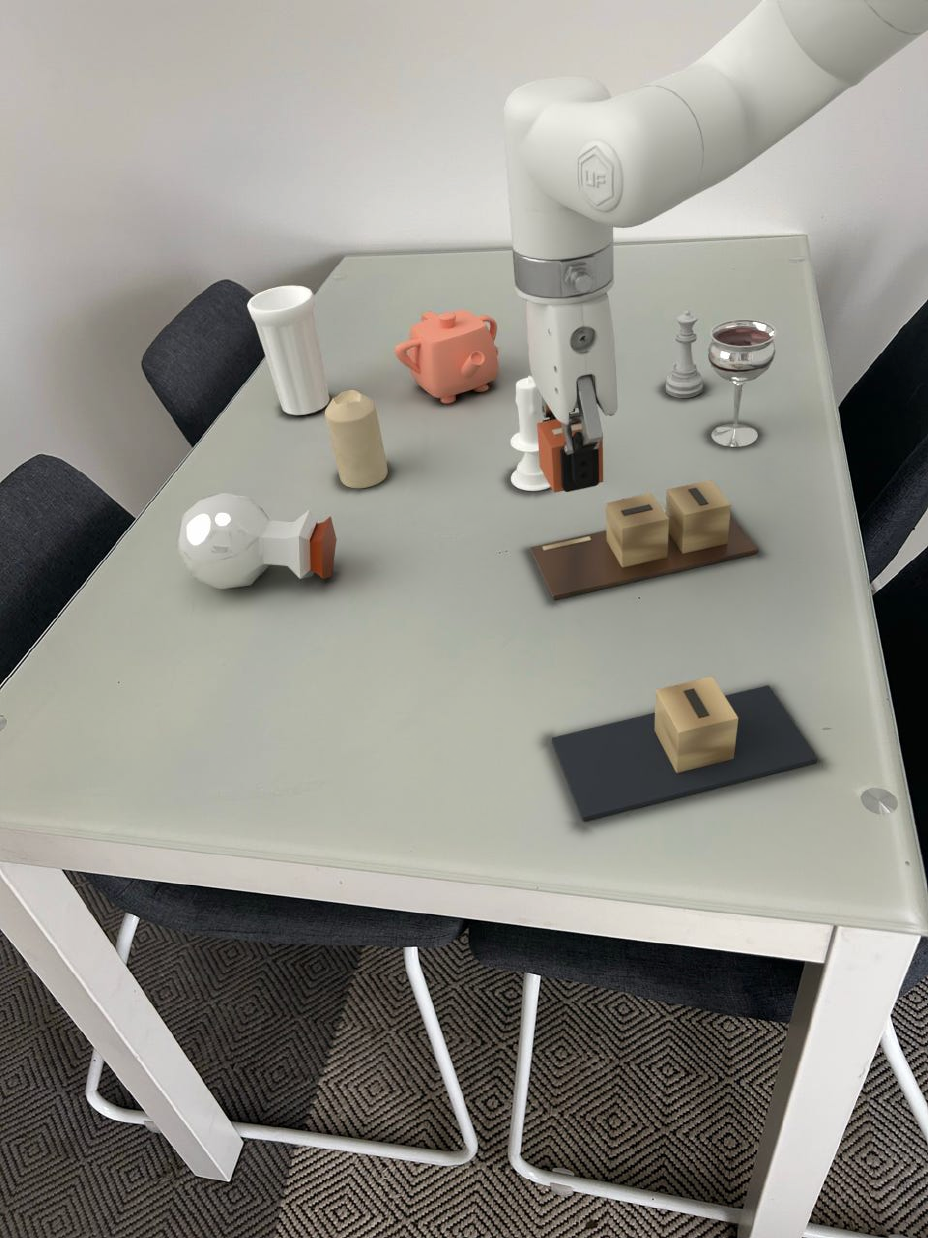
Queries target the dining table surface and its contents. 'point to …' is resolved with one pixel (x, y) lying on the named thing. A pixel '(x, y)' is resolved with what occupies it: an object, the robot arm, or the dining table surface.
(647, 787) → the near mat
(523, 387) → the candle
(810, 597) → the dining table surface
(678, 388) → the chess piece
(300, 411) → the cup
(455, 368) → the teapot
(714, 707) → the tan block
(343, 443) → the candle
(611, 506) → the far letter i
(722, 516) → the tan wooden block
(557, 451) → the orange striped cube
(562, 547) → the far board
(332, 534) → the potion bottle
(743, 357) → the wineglass
